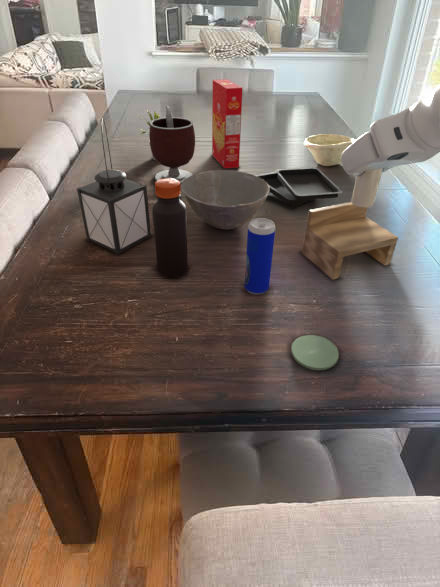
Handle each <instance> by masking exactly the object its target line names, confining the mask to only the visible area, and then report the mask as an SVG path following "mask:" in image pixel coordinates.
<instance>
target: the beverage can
mask: <svg viewBox="0 0 440 587" xmlns="http://www.w3.org/2000/svg"><path fill="white" fill-rule="evenodd" d="M275 238H276V225H275V222H274V221H273V220H271V219H269V218H264V217H257V218H252V219H250V221H249V223H248V226H247V236H246V251H245V252H246V254H245V266H244V267H245V269H244V280H243V281H244V282H243V283H244V284H243V285H244V289H245V290H246V292H248V293H249V294H251V295H255V296H257V295H263V294H266V292H268V290H269V289H270V283H271V273H272V264H273V255H274V247H275Z"/></svg>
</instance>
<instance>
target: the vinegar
mask: <svg viewBox="0 0 440 587" xmlns="http://www.w3.org/2000/svg"><path fill="white" fill-rule="evenodd" d="M154 191H155V192H154V193H155V197H156V199H157V200H156V201H155V202H154V203H153V205H152V207H151V213H152V214H151V216H152V225H153V236H154V247H155V257H156V268H157V272H158V274H159V275H161V276H162V277H165V278H170V279H173V278H174V279H175V278H180V277H181V276H185V274H187V272H188V270H189V254H188V253H189V252H188V250H189V249H188V248H189V247H188V224H187V221H188V220H187V206H186V204H185V203H184V202H183V201H182V200H181V199H180V198H181V194H182V192H181V185H180V181H178V180H176V179H172V178H165V179H160V180H158V181H156V180H155V182H154Z"/></svg>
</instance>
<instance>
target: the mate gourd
mask: <svg viewBox="0 0 440 587" xmlns="http://www.w3.org/2000/svg"><path fill="white" fill-rule="evenodd" d="M149 122H150V126H149V128H150V129H149V132H150V133H148V134H149V135H148V136H149V140H150V144H149V148H150V147H151V148H150V152H151V151H152V152H151V155H152V154H153V156H152V158H153V157H154V158H155V159H156V160H155V161H156V162H157V163H158V164H159V165H160V166H163V167H167V168H169V169H164V170H160V171H159V172H157V173H156V174H155V182H156V181H158V180H160V179H165V178H172V179H176V180H178V181H180V186H181V184H182V181H183V180H185V179H186V178H187V177H190V176H192V175H194V174H193V173H192V172H191V171H189V170H186V169H180V167H183V166H186V165H187V164H189V163H190V161H191V160H192V158H194V154H195V148H196V133H195V127H194V122H193V121H192V120H191V119H189V118H185V117H175V116H173V114H172V112H171V110H170V107H169V105H166V106H165V117H160V118H159V119H155V120H154V119H153V120H152V121H151V120H150V121H149Z"/></svg>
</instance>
